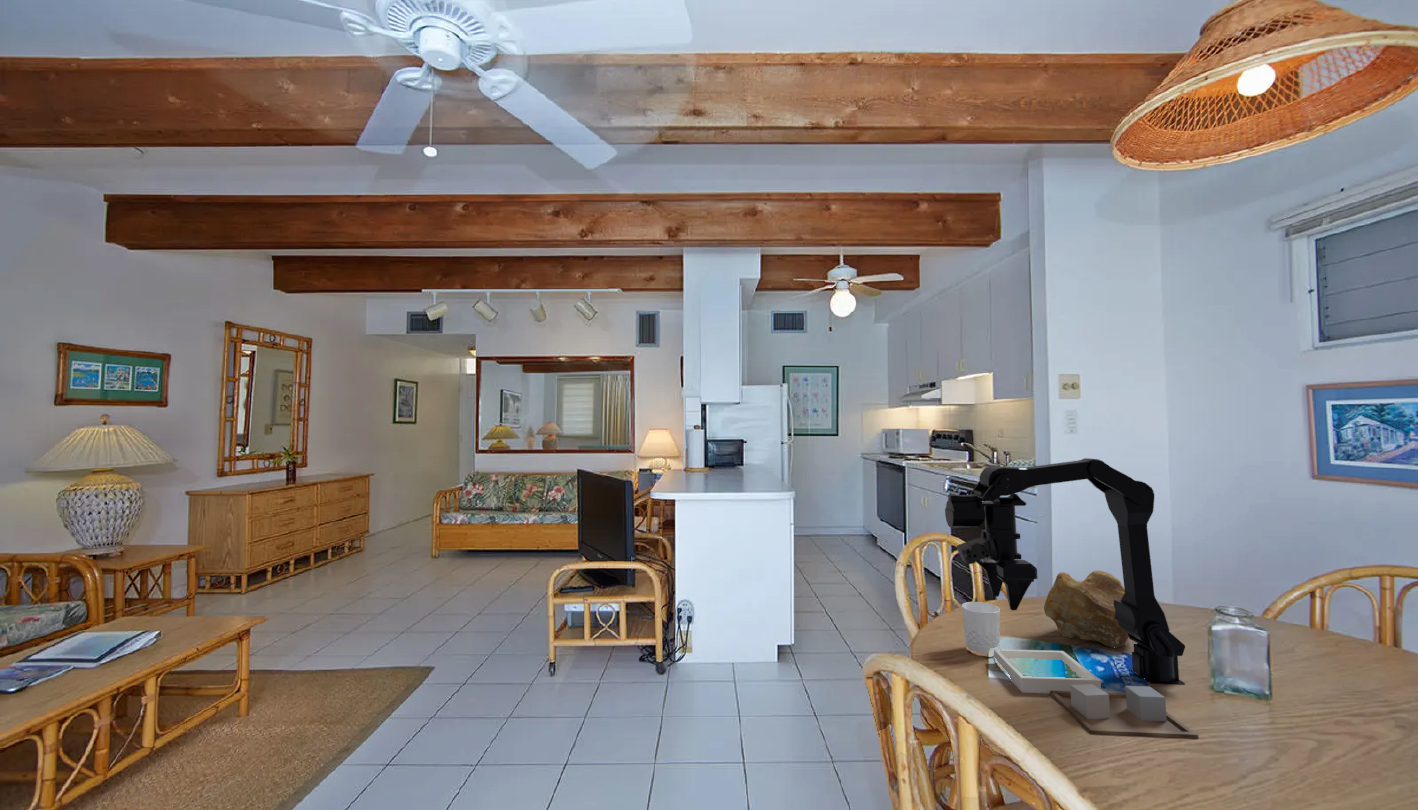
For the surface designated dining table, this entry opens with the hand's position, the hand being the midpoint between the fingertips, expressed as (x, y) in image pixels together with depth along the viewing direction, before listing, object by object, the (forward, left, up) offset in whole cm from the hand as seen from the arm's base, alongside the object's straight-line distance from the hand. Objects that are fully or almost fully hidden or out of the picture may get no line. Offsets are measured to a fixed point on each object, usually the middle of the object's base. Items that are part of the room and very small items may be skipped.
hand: (1004, 602), depth 115 cm
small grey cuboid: (-8, +16, -14) cm, 23 cm away
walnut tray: (-12, +16, -15) cm, 25 cm away
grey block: (-17, +16, -14) cm, 27 cm away
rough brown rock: (-29, -22, -15) cm, 40 cm away
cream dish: (-6, +2, -15) cm, 16 cm away
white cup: (+1, -12, -15) cm, 19 cm away
